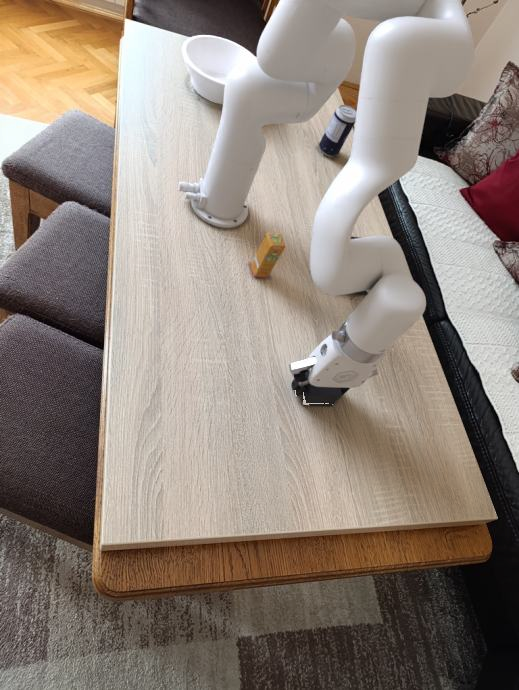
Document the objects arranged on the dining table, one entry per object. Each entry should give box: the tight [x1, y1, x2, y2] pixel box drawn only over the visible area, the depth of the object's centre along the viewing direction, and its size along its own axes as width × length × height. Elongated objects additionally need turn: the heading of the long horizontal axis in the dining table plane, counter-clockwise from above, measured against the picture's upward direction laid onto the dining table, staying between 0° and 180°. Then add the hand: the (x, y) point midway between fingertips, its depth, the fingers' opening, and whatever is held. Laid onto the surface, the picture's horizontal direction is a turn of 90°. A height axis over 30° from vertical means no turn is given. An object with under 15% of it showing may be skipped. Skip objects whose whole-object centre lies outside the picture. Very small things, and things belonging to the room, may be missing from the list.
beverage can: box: [318, 104, 357, 158], centre depth 128 cm, size 6×6×12 cm
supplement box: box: [250, 232, 286, 278], centre depth 99 cm, size 3×3×10 cm
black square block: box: [300, 371, 343, 408], centre depth 90 cm, size 6×6×4 cm
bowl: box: [181, 34, 257, 105], centre depth 128 cm, size 21×21×8 cm
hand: (316, 389), depth 91 cm, fingers open, 7 cm apart
